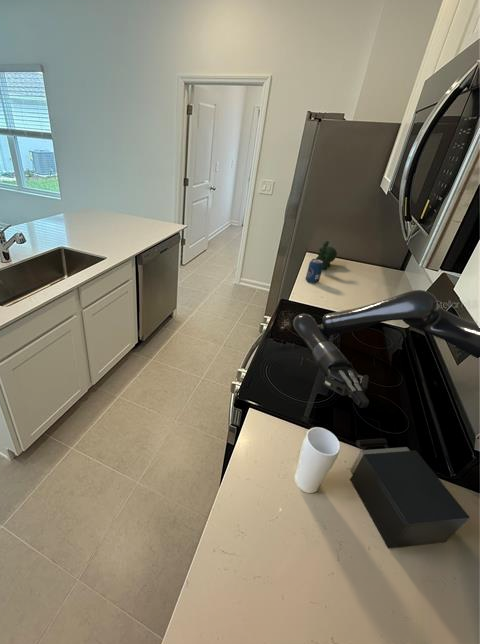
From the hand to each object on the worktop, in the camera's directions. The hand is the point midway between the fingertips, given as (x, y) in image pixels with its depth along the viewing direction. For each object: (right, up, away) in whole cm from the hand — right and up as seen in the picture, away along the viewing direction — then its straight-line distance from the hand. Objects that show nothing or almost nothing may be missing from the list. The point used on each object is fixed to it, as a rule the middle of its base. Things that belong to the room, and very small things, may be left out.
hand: (365, 405), depth 76 cm
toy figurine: (+36, +47, +109) cm, 124 cm away
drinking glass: (-17, -16, -5) cm, 24 cm away
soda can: (+22, +37, +90) cm, 100 cm away
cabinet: (+1, -19, -9) cm, 21 cm away
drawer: (+1, -16, -6) cm, 18 cm away
